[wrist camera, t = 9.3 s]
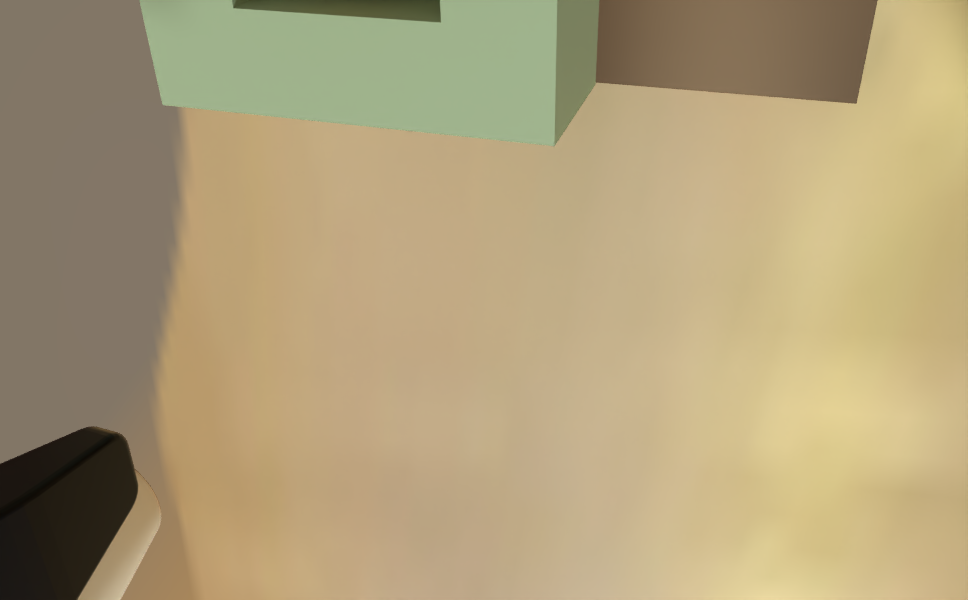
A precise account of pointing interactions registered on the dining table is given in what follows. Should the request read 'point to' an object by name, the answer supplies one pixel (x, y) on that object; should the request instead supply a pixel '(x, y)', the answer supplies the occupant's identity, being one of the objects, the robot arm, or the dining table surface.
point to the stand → (737, 46)
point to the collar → (382, 62)
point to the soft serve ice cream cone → (126, 547)
